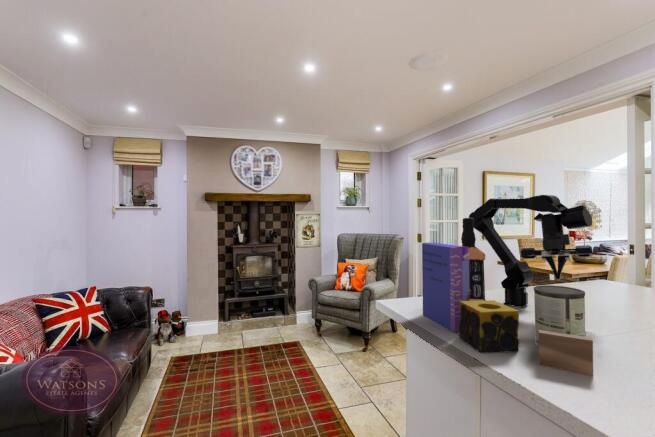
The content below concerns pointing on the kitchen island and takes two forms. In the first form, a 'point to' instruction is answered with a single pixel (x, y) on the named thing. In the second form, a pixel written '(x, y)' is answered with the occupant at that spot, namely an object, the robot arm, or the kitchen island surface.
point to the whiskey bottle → (474, 262)
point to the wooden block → (566, 352)
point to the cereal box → (445, 283)
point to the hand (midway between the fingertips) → (558, 279)
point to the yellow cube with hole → (489, 326)
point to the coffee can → (559, 310)
